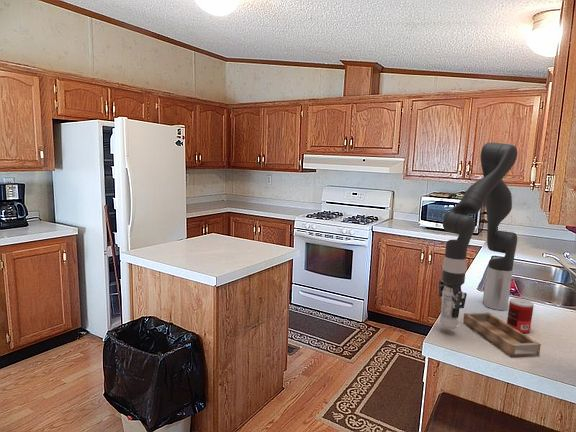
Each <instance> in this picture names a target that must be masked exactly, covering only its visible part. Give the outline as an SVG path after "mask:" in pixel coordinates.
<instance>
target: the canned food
mask: <svg viewBox="0 0 576 432" xmlns="http://www.w3.org/2000/svg"><path fill="white" fill-rule="evenodd" d="M534 306H535V305H534V303H533V302H532V301H530V300H528V299H524V298H520V297H518V298H516V297H513V298H509V302H508V312H507V319H506V320H507V321H506V324H508V325H510V326H511V327H513V328H515V329H516V330H518V331H520V332H521V333H523V334H525V335H526V334H529V333H530V331H531V328H532V327H531V326H532V319H533V313H534Z"/></svg>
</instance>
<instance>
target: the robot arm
mask: <svg viewBox="0 0 576 432" xmlns="http://www.w3.org/2000/svg"><path fill="white" fill-rule="evenodd" d="M517 157H518V149H517V146H516V145H513V144H509V143H499V142H487V143H485V144H484V145H483V146H482V147H481V151H480V165H481V171H482V175H483V176H482V177H481V178H480V179H478V180H477V181H475V182H474V183H473V184H471V186H469V187H468V188H467V190H466V191H465V193H464V195H463V196H462V198H461V199H460V200H459V202H458V203H457V204H455V206H453V207H452V208H451V209H450V210H449V211H448V212H447V213H446V214H445V216H444V217H443V219H442V227H443V230H444V231H445V232H446V233H447V232H448V233H451V234H456V235H458V237H457V238H456V239H449V240H447V241H446V243H445V251H444V259H443V263H442V264H443V265H442V275H441V280H439V282H438V296H439V297H440V299H441V300H442V296H443V289H444V288H445V285H448V286H449V287H451V288H452V289H453V293H454V296H456V294H458V295H457V297H458V298H457V299H454V298H453V296H452V295H451V301H452V305H453V308H452V317H453V318H458V319H459V317H458V316H459V315H460V309H464V308H465V304H466V301H467V295H468V294H467V292H463V291H462V285H464V284H465V280H466V270H467V253H468V247H469V244H470V241H471V239H472V237H473V234H474V231H475V229H476V221H475V219H474V217H472V216H473V215H477V214H478V213H479V212H480V210H481V208H482V207H483V205H484V204H485V210H486V219H487V225H486V226H487V228H486V229H487V230H486V231H487V232H486V233H487V234H486V237H487V238H486V244H487V249H488V250H490V251H491V252H497V253H501V254H504V256H502V257H498V258H491V259H489V261H488V265H487V274H486V281H485V282H484V286H483V295H482V296H483V297H482V303H483V306H484V307H486V308H488V307H489V308H488V309H492V310H496V311H505V310H508V309H509V301H510V291H511V285H512V284H511V283H512V276H513V269H514V268H513V267H514V262H515V256H516V250H517V245H518V244H517V243H518V235H517V233H515V232H512V231H505V230H499V229H498V227H499V225H500V224H501V222H503V221H504V219H506V218H507V217H508V215H509V214H510V213H511V211H512V210H513V209H512V208H513V198H512V197H513V196H512V192H511V190H510V188H509V187H508V185H507V184H506V183H505V182H504V180H503V179H504V177H505V176H506V175H507V174H508V173H509V172H510V170H511V169H512V168H513V166H515V165H514V164H515V163H516V161H517ZM450 293H451V289H450ZM455 301H457V303H456V304H455Z"/></svg>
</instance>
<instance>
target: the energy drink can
mask: <svg viewBox="0 0 576 432" xmlns="http://www.w3.org/2000/svg"><path fill="white" fill-rule="evenodd" d="M450 289H451V293H450ZM442 292H443V296H442V299H441V308H440V319H439V323H440V325H441V327H443V328H446V329H456V328H457V327H458V325H459V316H458V318H453V317H452V308H453V305H452V301H451V295H452V296H453V298H454V299H457V298H458V297H457V295H458V294H456V296H454V293H453V289H452V288H451V287H449V286H448V285H445V288H444V289H443V290H442ZM456 303H457V301H455V304H456Z"/></svg>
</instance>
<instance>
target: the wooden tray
mask: <svg viewBox="0 0 576 432" xmlns="http://www.w3.org/2000/svg"><path fill="white" fill-rule="evenodd" d="M462 320H463V324H464V325H465V326H466V327H468V328H469V329H471V330H472V331H473V332H475V333H476V334H477V335H479V336H480V337H481V338H483V339H485V340H486V341H488V342H489V343H490V344H491V345H493V346H494V347H496V348H497V349H498V350H500V351H501V352H503V353H504V354H506V355H507V356H508V357H510V358H522V357H523V358H524V357H539V356H540V353H541V345H542V344H541V343H540V342H538V341H536V340H534V339H533V338H531V337H530V336H528V335H526V333H525V334H523V333H521V332H520V331H518V330H516V329H515V328H513V327H511V326H510V325H508V324H507V322H505V321H504V320H501V319H500V318H498V317H496V316H495V315H493V314H492V313H490V312H471V313H469V312H468V313H466V312H464V313H463V319H462Z"/></svg>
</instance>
